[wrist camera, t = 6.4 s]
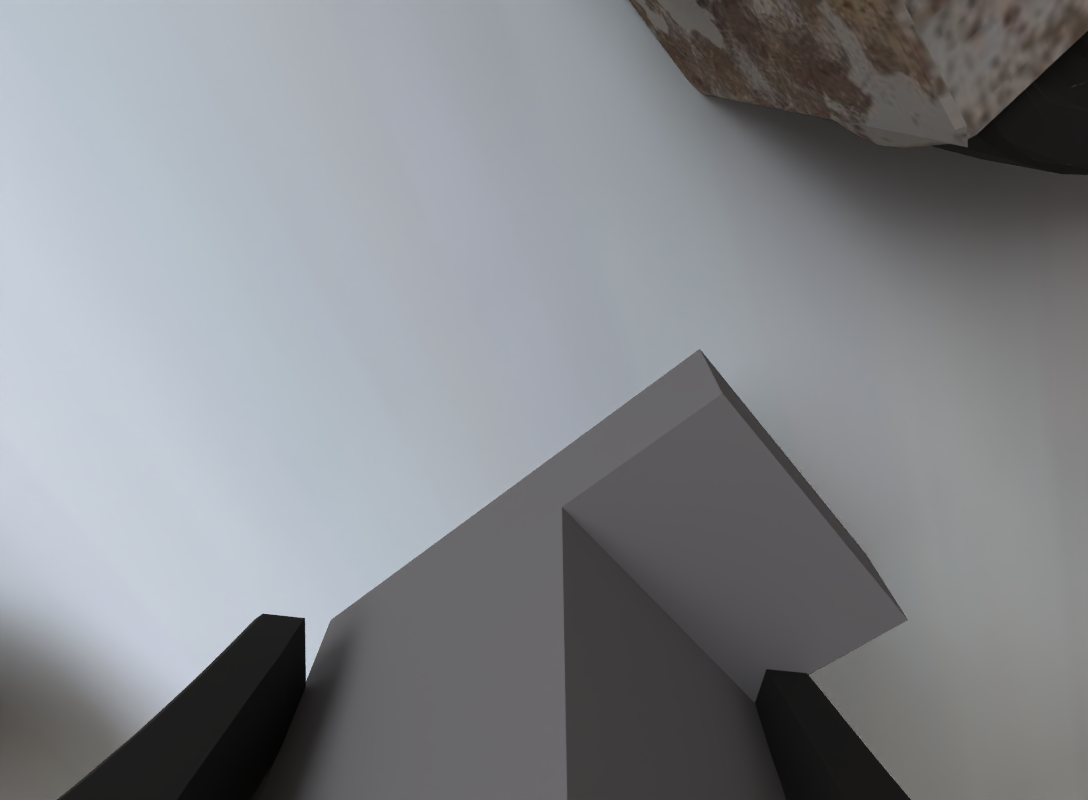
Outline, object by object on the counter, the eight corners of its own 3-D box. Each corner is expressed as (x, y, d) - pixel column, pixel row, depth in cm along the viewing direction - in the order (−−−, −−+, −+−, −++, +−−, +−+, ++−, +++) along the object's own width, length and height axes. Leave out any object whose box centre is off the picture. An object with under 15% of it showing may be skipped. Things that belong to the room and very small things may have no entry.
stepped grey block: (865, 554, 12) (1146, 994, 6) (509, 765, 14) (479, 1235, 8) (699, 348, 10) (870, 682, 5) (330, 620, 12) (149, 1069, 7)
